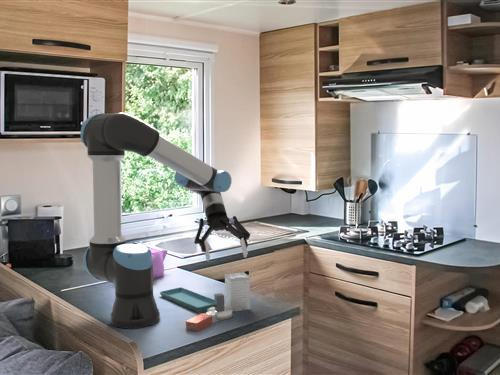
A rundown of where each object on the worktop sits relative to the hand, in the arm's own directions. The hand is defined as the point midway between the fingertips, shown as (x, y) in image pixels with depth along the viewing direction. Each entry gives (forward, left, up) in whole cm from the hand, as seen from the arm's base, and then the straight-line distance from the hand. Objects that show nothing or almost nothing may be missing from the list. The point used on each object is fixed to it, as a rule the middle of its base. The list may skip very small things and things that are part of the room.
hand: (227, 257), depth 204 cm
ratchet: (-23, -8, -15) cm, 28 cm away
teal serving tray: (-9, +10, -16) cm, 21 cm away
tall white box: (-7, -8, -15) cm, 18 cm away
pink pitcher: (+11, +48, -15) cm, 52 cm away
